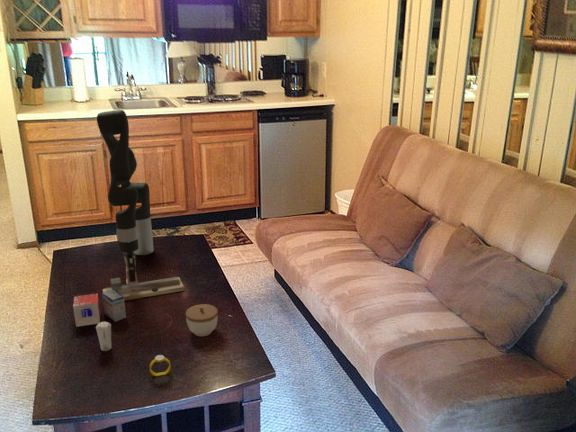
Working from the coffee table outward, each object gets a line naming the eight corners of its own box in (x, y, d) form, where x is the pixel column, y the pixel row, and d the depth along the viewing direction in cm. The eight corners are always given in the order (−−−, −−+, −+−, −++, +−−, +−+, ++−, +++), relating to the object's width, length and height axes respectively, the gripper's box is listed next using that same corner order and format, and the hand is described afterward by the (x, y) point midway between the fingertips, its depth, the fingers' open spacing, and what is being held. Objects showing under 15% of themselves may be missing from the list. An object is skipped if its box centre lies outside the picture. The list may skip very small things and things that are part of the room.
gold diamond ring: (170, 370, 156) (170, 353, 155) (171, 376, 154) (171, 358, 152) (149, 373, 154) (149, 355, 153) (150, 378, 152) (150, 361, 150)
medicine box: (103, 314, 188) (101, 293, 185) (115, 310, 191) (112, 289, 188) (115, 322, 183) (112, 300, 180) (126, 317, 186) (124, 295, 183)
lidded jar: (183, 327, 180) (182, 303, 177) (213, 321, 184) (212, 297, 181) (190, 343, 170) (189, 317, 167) (222, 336, 174) (221, 311, 171)
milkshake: (107, 354, 164) (103, 326, 161) (95, 349, 166) (92, 322, 163) (118, 347, 167) (115, 320, 164) (107, 343, 170) (103, 316, 167)
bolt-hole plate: (103, 292, 204) (101, 277, 202) (179, 280, 215) (178, 265, 213) (104, 303, 195) (102, 288, 193) (184, 290, 206) (183, 275, 204)
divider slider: (127, 287, 204) (124, 267, 202) (137, 285, 206) (135, 265, 203) (128, 292, 200) (125, 271, 198) (138, 290, 202) (136, 270, 199)
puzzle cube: (100, 312, 189) (97, 293, 187) (100, 323, 182) (97, 303, 180) (76, 316, 187) (74, 296, 184) (75, 327, 180) (72, 306, 177)
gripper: (115, 232, 201) (119, 271, 206) (118, 245, 189) (123, 286, 194) (135, 230, 204) (139, 268, 209) (139, 242, 191) (143, 282, 196)
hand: (131, 276), depth 201 cm, fingers open, 8 cm apart
